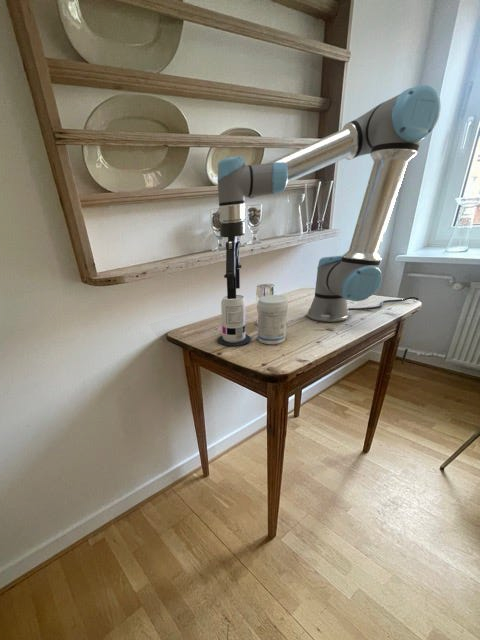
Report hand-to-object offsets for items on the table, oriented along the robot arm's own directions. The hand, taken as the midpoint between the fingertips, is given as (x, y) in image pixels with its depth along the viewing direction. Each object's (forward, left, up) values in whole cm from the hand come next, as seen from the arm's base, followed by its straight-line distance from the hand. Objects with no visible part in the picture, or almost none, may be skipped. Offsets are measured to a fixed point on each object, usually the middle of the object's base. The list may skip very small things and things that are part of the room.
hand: (234, 293), depth 100 cm
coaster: (0, 0, -17) cm, 17 cm away
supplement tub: (-10, +7, -17) cm, 21 cm away
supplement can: (0, 0, -17) cm, 17 cm away
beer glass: (-18, -9, -17) cm, 26 cm away
